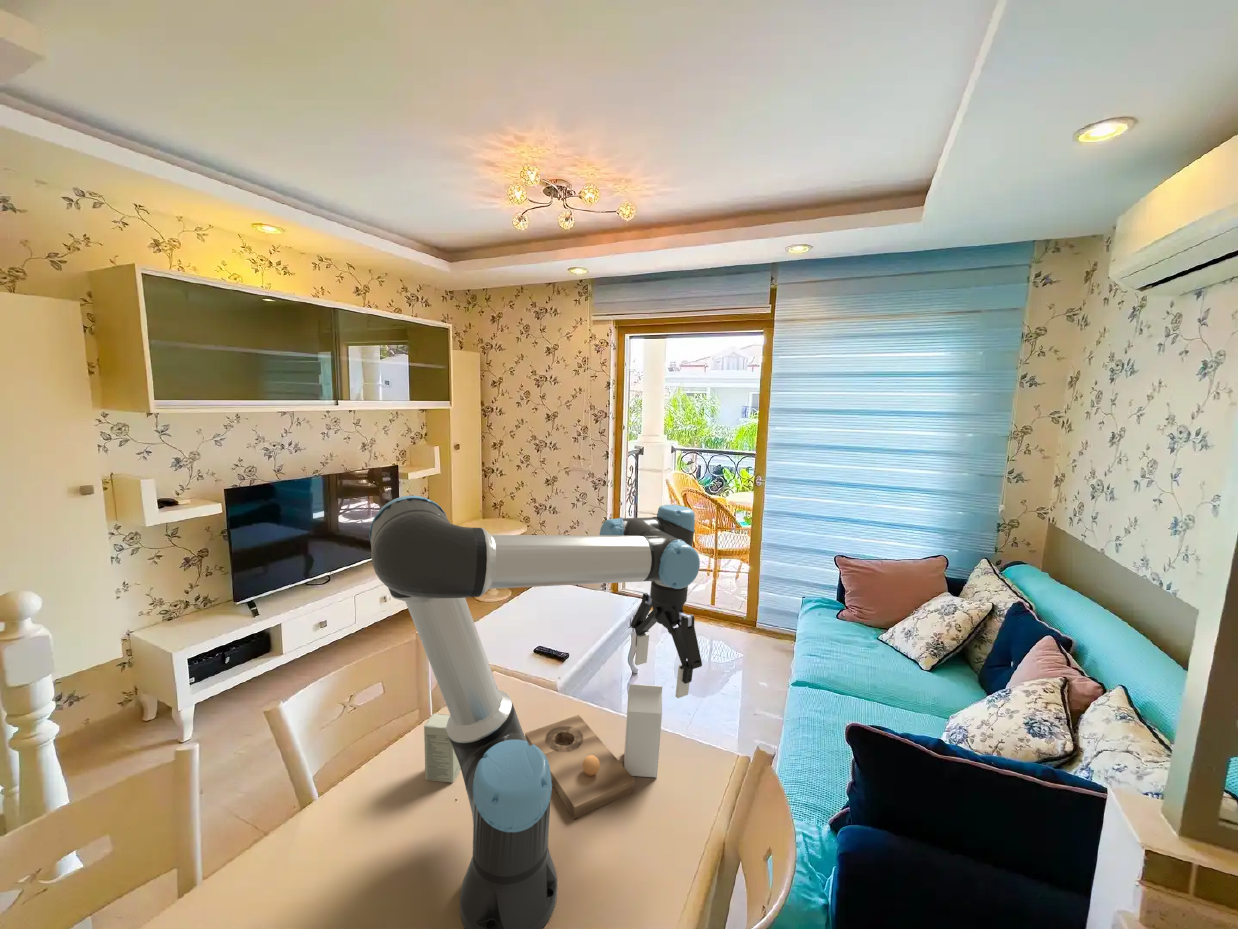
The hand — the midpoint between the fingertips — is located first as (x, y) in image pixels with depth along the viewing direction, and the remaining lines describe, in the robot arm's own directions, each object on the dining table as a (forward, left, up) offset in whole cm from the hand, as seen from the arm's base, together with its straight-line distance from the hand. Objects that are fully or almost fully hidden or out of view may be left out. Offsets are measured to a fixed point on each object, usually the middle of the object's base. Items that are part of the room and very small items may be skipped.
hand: (660, 678), depth 104 cm
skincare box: (-39, +22, -23) cm, 50 cm away
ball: (-13, +4, -18) cm, 23 cm away
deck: (-13, +10, -22) cm, 28 cm away
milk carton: (-1, +4, -23) cm, 23 cm away
